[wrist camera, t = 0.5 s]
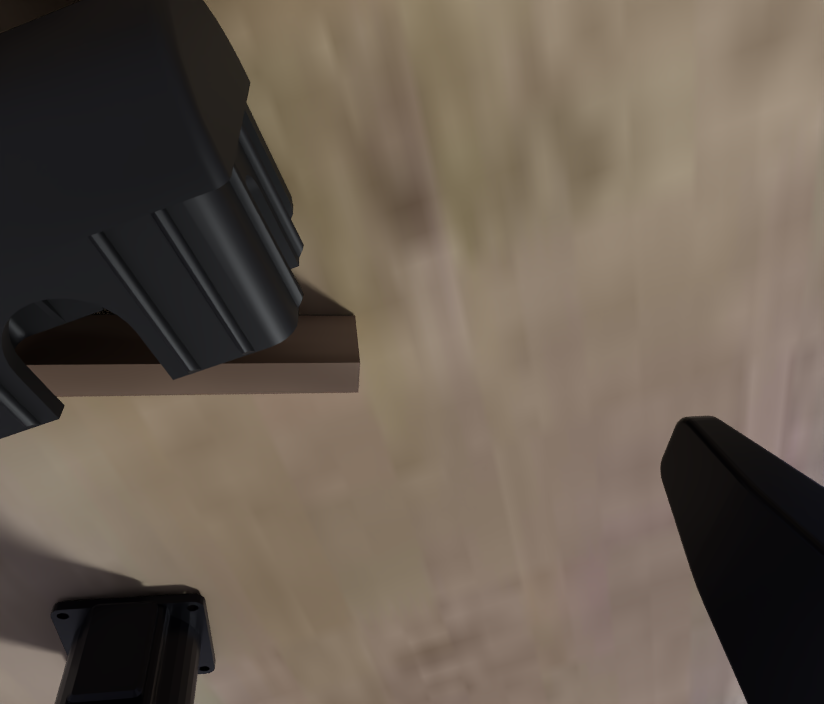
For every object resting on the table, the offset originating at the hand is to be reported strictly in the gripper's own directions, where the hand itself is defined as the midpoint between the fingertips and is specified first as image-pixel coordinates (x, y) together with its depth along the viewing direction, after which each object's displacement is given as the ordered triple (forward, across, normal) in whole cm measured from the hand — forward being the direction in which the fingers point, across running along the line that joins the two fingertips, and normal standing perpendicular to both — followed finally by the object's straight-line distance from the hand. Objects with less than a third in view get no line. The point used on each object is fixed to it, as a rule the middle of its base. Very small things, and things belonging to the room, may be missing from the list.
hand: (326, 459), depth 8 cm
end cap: (+13, +6, +1) cm, 14 cm away
